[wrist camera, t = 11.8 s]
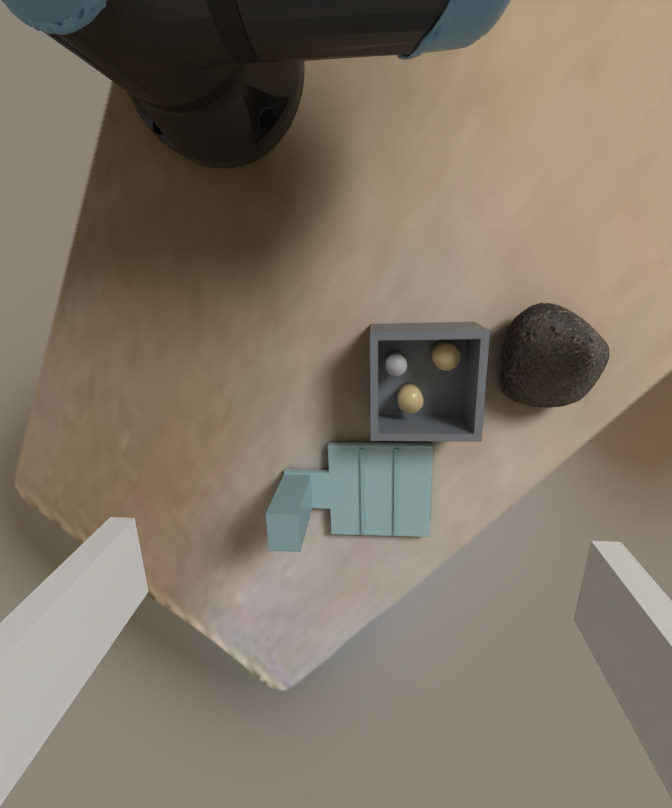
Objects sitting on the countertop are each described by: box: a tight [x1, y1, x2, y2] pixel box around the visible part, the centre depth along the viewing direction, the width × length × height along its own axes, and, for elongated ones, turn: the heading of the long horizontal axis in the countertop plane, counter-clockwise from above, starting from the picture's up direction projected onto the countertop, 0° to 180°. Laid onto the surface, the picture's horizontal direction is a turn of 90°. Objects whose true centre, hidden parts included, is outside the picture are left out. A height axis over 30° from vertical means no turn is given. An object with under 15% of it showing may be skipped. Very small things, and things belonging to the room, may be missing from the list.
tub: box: [370, 322, 490, 442], centre depth 40 cm, size 10×10×6 cm
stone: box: [501, 303, 609, 407], centre depth 39 cm, size 10×8×10 cm
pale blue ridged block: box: [266, 442, 433, 552], centre depth 43 cm, size 11×16×9 cm
